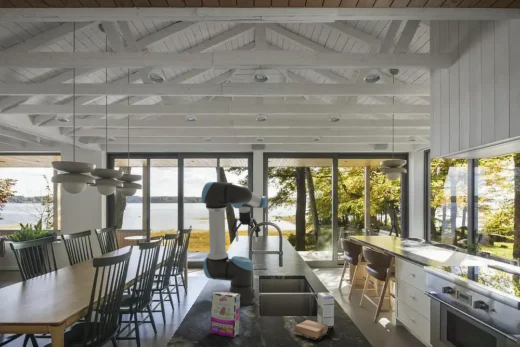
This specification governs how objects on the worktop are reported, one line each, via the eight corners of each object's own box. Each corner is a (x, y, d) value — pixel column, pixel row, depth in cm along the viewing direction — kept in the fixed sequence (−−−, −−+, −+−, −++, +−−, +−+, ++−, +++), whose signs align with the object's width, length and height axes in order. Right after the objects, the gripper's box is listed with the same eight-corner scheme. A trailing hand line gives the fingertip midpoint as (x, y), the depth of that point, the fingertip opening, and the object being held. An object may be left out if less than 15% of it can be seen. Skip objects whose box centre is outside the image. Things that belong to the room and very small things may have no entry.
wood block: (307, 329, 160) (307, 319, 161) (327, 335, 154) (328, 325, 154) (295, 335, 152) (295, 325, 153) (316, 341, 146) (316, 331, 147)
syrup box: (334, 328, 161) (335, 295, 162) (322, 329, 159) (323, 295, 160) (328, 324, 166) (329, 292, 167) (316, 325, 165) (317, 292, 166)
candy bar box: (239, 333, 150) (241, 293, 151) (234, 338, 146) (236, 296, 147) (215, 329, 154) (217, 290, 155) (209, 333, 150) (211, 292, 151)
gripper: (263, 209, 245) (265, 239, 248) (228, 209, 251) (231, 238, 255) (260, 212, 237) (263, 243, 241) (225, 212, 244) (227, 242, 247)
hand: (246, 241), depth 248 cm, fingers open, 13 cm apart
